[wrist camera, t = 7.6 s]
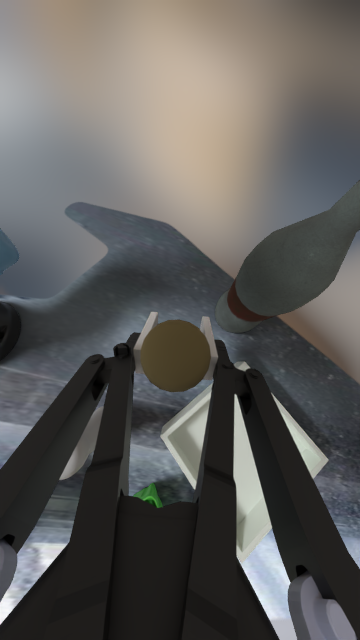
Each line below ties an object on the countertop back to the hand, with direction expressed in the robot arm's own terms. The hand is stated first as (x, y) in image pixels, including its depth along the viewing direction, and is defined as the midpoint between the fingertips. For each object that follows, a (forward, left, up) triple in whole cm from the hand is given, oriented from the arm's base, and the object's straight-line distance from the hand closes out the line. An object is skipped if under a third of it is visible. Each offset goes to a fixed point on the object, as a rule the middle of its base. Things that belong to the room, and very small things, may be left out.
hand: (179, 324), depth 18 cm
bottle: (+3, +13, -16) cm, 21 cm away
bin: (+21, -3, -16) cm, 26 cm away
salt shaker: (+4, -20, -16) cm, 26 cm away
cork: (+3, -3, -4) cm, 5 cm away
